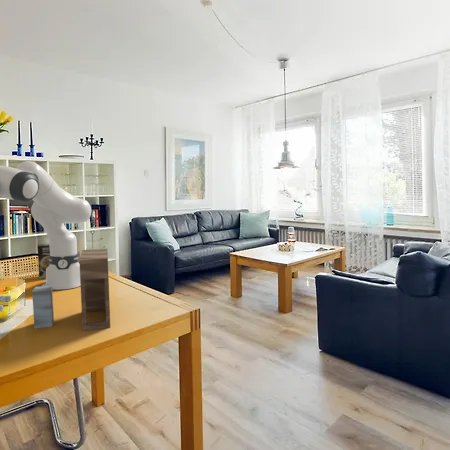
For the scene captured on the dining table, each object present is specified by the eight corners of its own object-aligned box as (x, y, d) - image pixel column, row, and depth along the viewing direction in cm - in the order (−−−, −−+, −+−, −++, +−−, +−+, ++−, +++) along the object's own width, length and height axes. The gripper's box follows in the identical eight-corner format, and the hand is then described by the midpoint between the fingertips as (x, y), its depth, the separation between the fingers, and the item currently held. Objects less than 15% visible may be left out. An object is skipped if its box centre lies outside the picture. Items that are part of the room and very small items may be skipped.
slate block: (37, 322, 119) (35, 287, 118) (53, 320, 121) (51, 285, 119) (34, 328, 114) (32, 291, 113) (51, 326, 116) (49, 289, 114)
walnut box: (85, 311, 130) (82, 249, 127) (109, 308, 132) (107, 248, 130) (82, 330, 112) (79, 260, 110) (110, 327, 115) (107, 258, 112)
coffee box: (38, 279, 174) (36, 245, 172) (39, 276, 179) (37, 243, 178) (59, 277, 177) (57, 244, 175) (59, 274, 183) (58, 242, 181)
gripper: (-62, 308, 98) (-3, 303, 103) (-35, 288, 118) (13, 284, 122) (-60, 330, 99) (-2, 324, 103) (-34, 307, 118) (14, 303, 123)
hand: (6, 302), depth 113 cm, fingers open, 8 cm apart
